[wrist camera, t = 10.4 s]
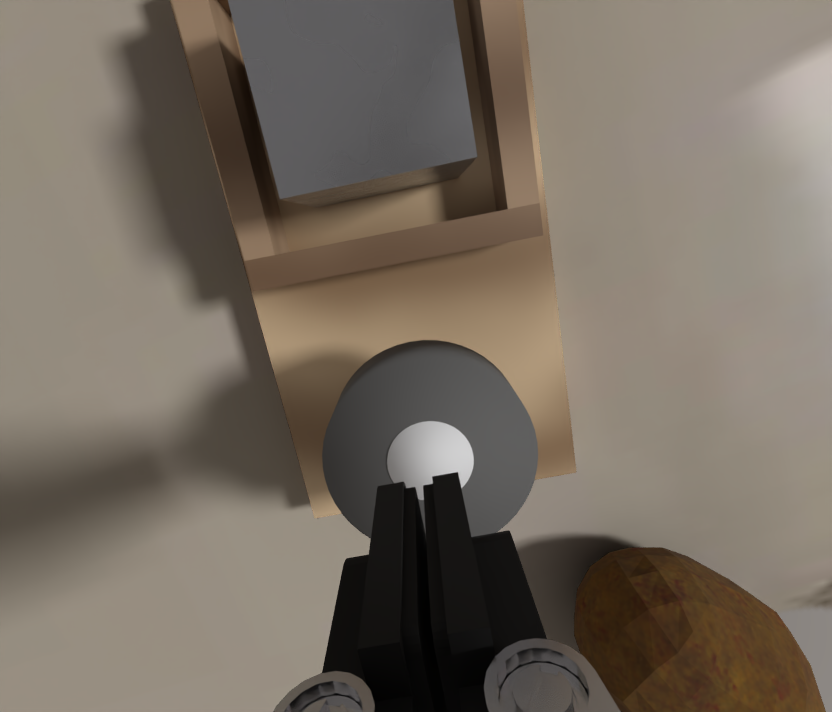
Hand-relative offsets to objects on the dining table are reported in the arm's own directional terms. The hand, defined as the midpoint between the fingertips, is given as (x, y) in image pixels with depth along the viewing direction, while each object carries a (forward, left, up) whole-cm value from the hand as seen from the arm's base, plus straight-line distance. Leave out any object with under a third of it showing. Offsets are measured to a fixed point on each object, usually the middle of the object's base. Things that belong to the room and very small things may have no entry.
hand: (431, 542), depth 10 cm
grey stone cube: (-10, 0, -9) cm, 14 cm away
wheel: (0, 0, -6) cm, 6 cm away
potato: (+14, +9, -11) cm, 20 cm away
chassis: (-5, 0, -11) cm, 12 cm away
